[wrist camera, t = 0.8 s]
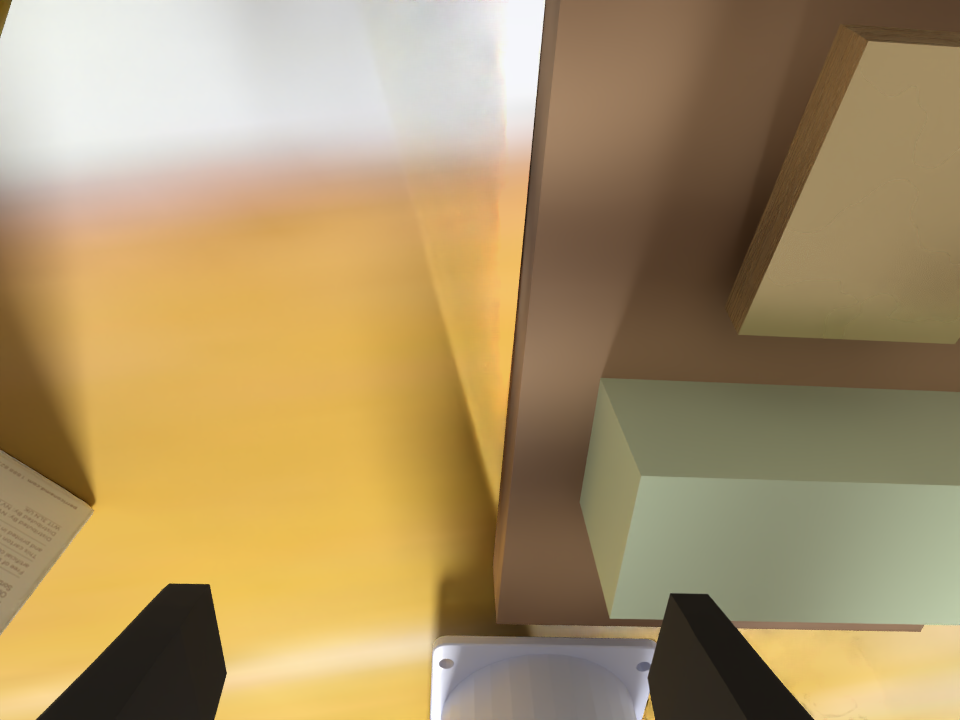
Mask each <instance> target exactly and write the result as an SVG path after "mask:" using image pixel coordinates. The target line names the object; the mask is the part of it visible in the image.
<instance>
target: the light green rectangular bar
mask: <svg viewBox="0 0 960 720" xmlns="http://www.w3.org/2000/svg"><path fill="white" fill-rule="evenodd" d="M580 505H581V509H582V513H583V517H584V521H585V524H586V528H587V532H588V536H589V540H590V544H591V548H592V552H593V555H594V559H595V563H596V567H597V571H598V575H599V579H600V583H601V586H602V590H603V594H604V598H605V602H606V606H607V610H608V614H609V617H610V619H656V620H663V618H664V614H665V611H666V607H667V603H668V599H669V596H670V593H689V594H708V595H709V596H710V597H711V598H712V599H713V600H714V602H715V603H716V604H717V605H718V606H719V608H720V609H721V610H722V611H723V612H724V614H725V615H726V616H727V617H728V618H729V620H730V621H761V622H814V623H866V624H918V625H960V392H947V391H921V390H896V389H871V388H845V387H820V386H794V385H769V384H744V383H718V382H693V381H667V380H642V379H617V378H600V384H599V390H598V396H597V402H596V408H595V414H594V420H593V425H592V431H591V437H590V443H589V449H588V455H587V461H586V467H585V473H584V479H583V485H582V491H581V497H580Z"/></svg>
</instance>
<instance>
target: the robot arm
mask: <svg viewBox="0 0 960 720" xmlns="http://www.w3.org/2000/svg"><path fill="white" fill-rule="evenodd" d="M226 674H227V672H226V667H225V661H224V656H223V651H222V646H221V641H220V636H219V630H218V625H217V620H216V615H215V610H214V604H213V599H212V594H211V589H210V584H168V585H167V586H166V587H165V588H164V589H162V591H161V592H160V593H159V594H158V595H157V596H156V597H155V598H154V599H153V600H152V601H151V602H150V603H149V604H148V605H147V606H146V607H145V608H144V609H143V610H142V612H141V613H140V614H139V615H138V616H137V617H136V618H135V619H134V620H133V621H132V622H131V623H130V624H129V625H128V626H127V627H126V628H125V630H124V631H123V632H122V633H121V634H120V635H119V636H118V637H117V638H116V639H115V640H114V641H113V642H112V643H111V644H110V645H109V646H108V647H107V648H106V649H105V650H104V652H103V653H102V654H101V655H100V656H99V657H98V658H97V659H96V660H95V661H94V662H93V663H92V664H91V665H90V666H89V667H88V668H87V669H86V670H85V671H84V672H83V673H82V674H81V675H80V676H79V677H78V678H77V679H76V680H75V681H74V682H73V683H72V684H71V685H70V686H69V687H68V688H67V689H66V690H65V691H64V692H63V693H62V694H61V695H60V696H59V697H58V698H57V699H56V700H55V701H54V702H53V703H52V704H51V705H50V706H49V707H48V708H47V709H46V710H45V711H44V712H43V713H42V714H41V715H40V716H39V717H38V718H37V719H36V720H214V718H215V715H216V712H217V708H218V704H219V700H220V697H221V693H222V689H223V685H224V682H225V678H226ZM649 692H650V695H651V700H652V705H653V711H654V716H655V720H814V719H813V718H812V717H811V715H810V714H809V713H808V712H807V711H806V710H805V709H804V707H803V706H802V705H801V704H800V703H799V702H798V701H797V700H796V698H795V697H794V696H793V695H792V694H791V693H790V692H789V690H788V689H787V688H786V687H785V686H784V685H783V683H782V682H781V681H780V680H779V679H778V677H777V676H776V675H775V674H774V673H773V672H772V670H771V669H770V668H769V667H768V666H767V664H766V663H765V662H764V661H763V660H762V658H761V657H760V656H759V655H758V654H757V652H756V651H755V650H754V649H753V648H752V646H751V645H750V644H749V643H748V642H747V640H746V639H745V638H744V637H743V635H742V634H741V633H740V632H739V631H738V629H737V628H736V627H735V626H734V625H733V623H732V622H731V621H730V620H729V618H728V617H727V616H726V615H725V614H724V612H723V611H722V610H721V609H720V608H719V606H718V605H717V604H716V603H715V602H714V600H713V599H712V598H711V597H710V596H709V595H708V594H689V593H670V596H669V599H668V603H667V607H666V611H665V614H664V618H663V622H662V625H661V629H660V633H659V637H658V640H657V644H656V643H655V642H654V641H652V640H649V639H625V638H568V637H511V636H453V635H447V636H441V637H439V638H437V639H436V640H435V641H434V643H433V651H432V678H431V705H430V720H642V717H643V714H644V710H645V707H646V703H647V699H648V696H649Z"/></svg>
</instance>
